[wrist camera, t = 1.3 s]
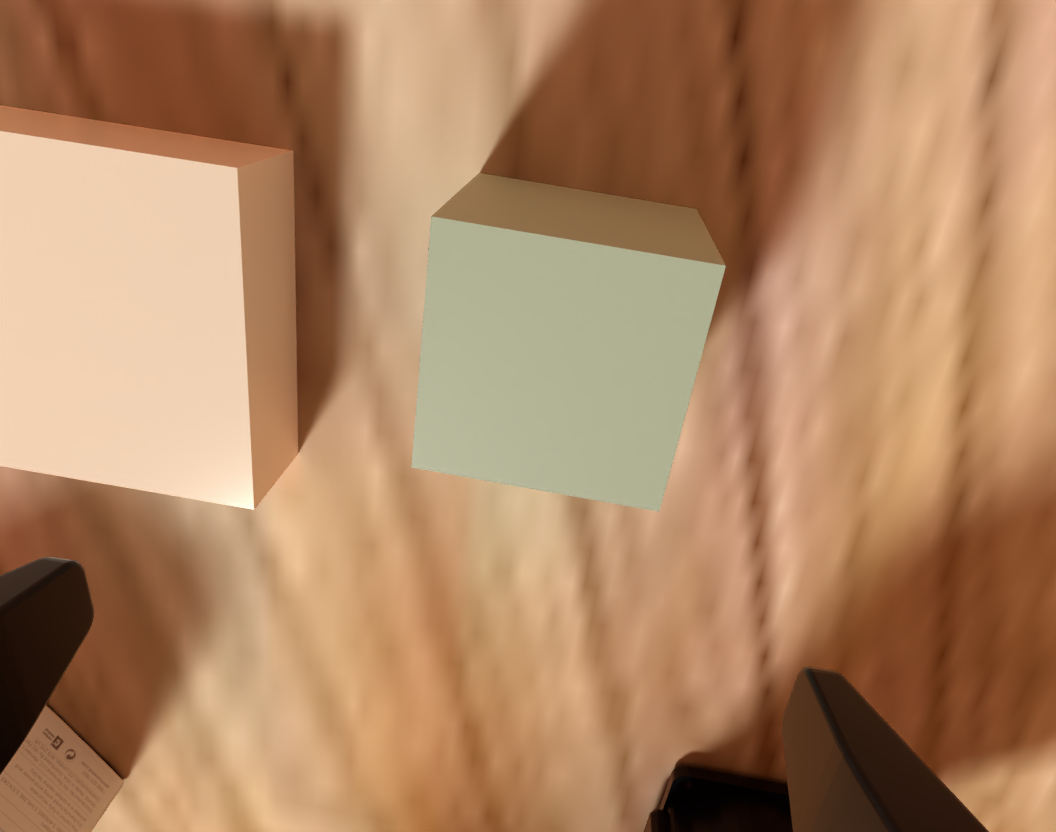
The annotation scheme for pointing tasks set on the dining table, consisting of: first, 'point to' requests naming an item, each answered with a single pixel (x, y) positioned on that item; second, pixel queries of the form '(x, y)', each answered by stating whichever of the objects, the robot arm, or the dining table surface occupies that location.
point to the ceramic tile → (146, 307)
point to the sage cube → (562, 338)
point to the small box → (55, 782)
